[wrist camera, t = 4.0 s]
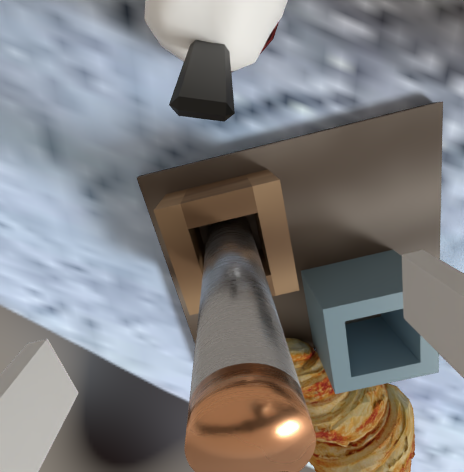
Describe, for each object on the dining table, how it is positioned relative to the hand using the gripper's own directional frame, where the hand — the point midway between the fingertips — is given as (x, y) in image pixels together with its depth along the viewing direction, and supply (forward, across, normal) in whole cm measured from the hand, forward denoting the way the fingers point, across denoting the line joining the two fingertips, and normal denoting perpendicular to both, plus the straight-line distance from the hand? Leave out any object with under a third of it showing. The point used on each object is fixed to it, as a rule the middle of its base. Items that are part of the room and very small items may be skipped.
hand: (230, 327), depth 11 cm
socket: (+11, +8, -8) cm, 16 cm away
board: (+11, +6, -4) cm, 13 cm away
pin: (+11, 0, 0) cm, 11 cm away
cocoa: (+12, +2, +12) cm, 17 cm away
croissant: (+11, +7, -19) cm, 23 cm away
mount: (+11, 0, 0) cm, 11 cm away
